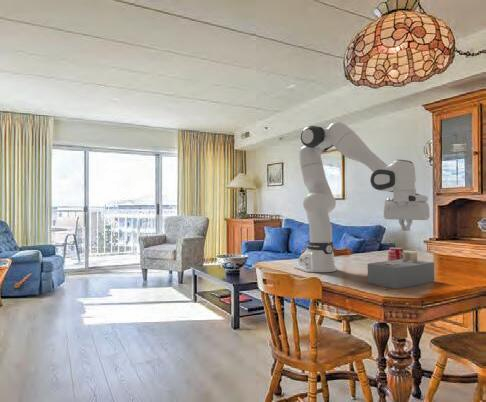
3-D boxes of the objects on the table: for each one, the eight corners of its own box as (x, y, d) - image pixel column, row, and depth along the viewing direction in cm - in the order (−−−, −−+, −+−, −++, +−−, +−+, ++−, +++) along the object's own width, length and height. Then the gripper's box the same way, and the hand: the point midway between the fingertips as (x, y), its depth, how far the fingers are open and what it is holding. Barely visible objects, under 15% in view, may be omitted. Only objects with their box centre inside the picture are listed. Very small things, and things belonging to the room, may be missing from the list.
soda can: (403, 272, 182) (402, 247, 182) (405, 275, 176) (405, 248, 176) (387, 271, 184) (387, 246, 184) (389, 274, 177) (388, 248, 178)
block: (368, 282, 160) (367, 263, 160) (405, 276, 172) (404, 258, 172) (396, 288, 148) (396, 268, 148) (434, 281, 160) (434, 262, 160)
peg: (403, 268, 164) (402, 252, 164) (409, 267, 166) (408, 251, 166) (411, 269, 161) (410, 253, 161) (417, 268, 163) (417, 252, 163)
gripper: (379, 198, 170) (380, 229, 169) (421, 197, 152) (422, 232, 152) (389, 198, 173) (390, 229, 173) (431, 196, 155) (432, 231, 155)
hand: (405, 230), depth 162 cm, fingers closed
